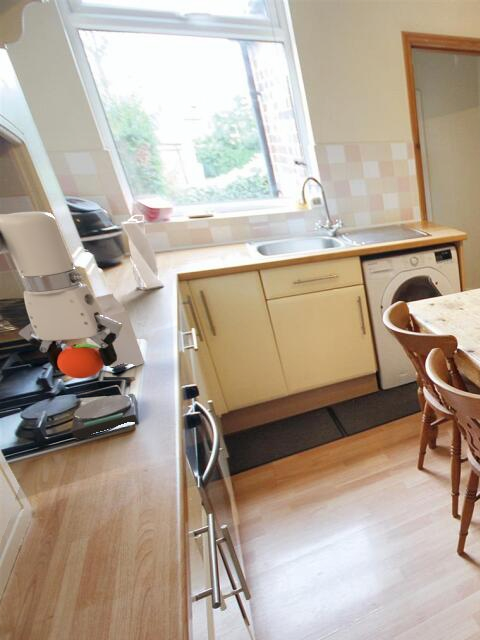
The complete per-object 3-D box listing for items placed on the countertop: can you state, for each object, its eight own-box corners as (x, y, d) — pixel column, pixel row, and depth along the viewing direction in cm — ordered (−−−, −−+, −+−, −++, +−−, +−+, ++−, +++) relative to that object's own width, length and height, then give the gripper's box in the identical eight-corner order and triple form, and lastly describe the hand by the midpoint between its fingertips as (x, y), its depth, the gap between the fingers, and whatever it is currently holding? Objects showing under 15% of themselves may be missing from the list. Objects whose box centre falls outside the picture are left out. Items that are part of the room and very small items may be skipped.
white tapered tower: (161, 282, 191) (139, 213, 180) (169, 286, 187) (147, 214, 176) (136, 287, 185) (112, 215, 174) (144, 291, 180) (120, 217, 169)
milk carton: (98, 370, 119) (70, 299, 112) (128, 358, 125) (103, 291, 118) (115, 375, 117) (88, 303, 109) (145, 363, 123) (121, 294, 115)
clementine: (121, 366, 98) (109, 335, 95) (107, 380, 92) (94, 348, 89) (75, 371, 96) (62, 339, 93) (57, 387, 90) (42, 353, 87)
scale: (79, 417, 99) (73, 405, 98) (137, 402, 105) (133, 391, 104) (75, 441, 91) (70, 429, 90) (138, 424, 97) (134, 412, 96)
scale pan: (77, 407, 98) (75, 403, 98) (131, 393, 103) (130, 390, 103) (74, 426, 91) (72, 423, 91) (132, 411, 97) (131, 408, 96)
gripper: (116, 273, 91) (144, 353, 98) (12, 278, 88) (49, 361, 95) (93, 284, 84) (125, 369, 91) (-21, 290, 81) (21, 378, 88)
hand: (86, 365), depth 93 cm, fingers closed on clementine, 8 cm apart
